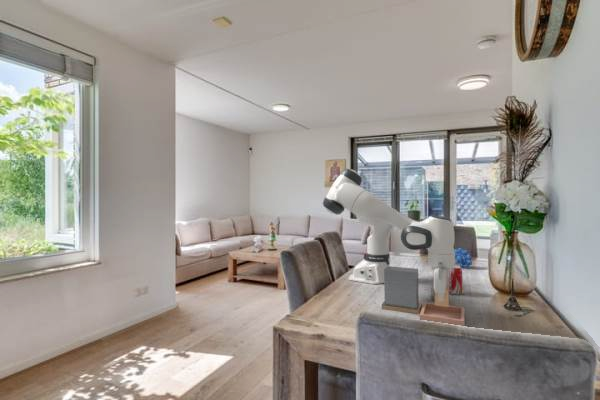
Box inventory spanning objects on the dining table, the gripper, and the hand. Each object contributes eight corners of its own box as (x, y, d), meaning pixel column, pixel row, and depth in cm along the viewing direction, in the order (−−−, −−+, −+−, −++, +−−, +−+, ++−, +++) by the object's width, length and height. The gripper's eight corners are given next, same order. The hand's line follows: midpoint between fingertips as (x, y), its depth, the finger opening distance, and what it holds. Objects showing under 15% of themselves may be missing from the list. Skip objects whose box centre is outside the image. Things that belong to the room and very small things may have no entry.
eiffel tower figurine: (519, 319, 112) (518, 282, 111) (489, 310, 120) (489, 276, 120) (538, 310, 119) (538, 275, 119) (509, 303, 128) (509, 270, 128)
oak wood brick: (434, 305, 112) (434, 285, 112) (435, 301, 116) (435, 282, 116) (448, 307, 110) (448, 287, 110) (449, 303, 114) (448, 284, 114)
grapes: (449, 267, 190) (448, 247, 190) (456, 265, 193) (455, 246, 193) (467, 270, 180) (467, 250, 180) (474, 269, 183) (474, 248, 183)
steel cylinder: (430, 301, 130) (430, 289, 130) (431, 298, 135) (431, 286, 135) (443, 303, 128) (443, 291, 128) (444, 299, 132) (444, 287, 132)
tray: (419, 321, 110) (419, 314, 110) (424, 308, 122) (424, 302, 122) (464, 328, 104) (464, 321, 103) (464, 314, 116) (464, 307, 116)
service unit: (381, 308, 123) (380, 269, 123) (387, 300, 132) (386, 264, 132) (419, 314, 117) (418, 273, 116) (422, 305, 126) (421, 267, 125)
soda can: (441, 291, 143) (441, 265, 143) (453, 289, 145) (452, 264, 145) (455, 296, 136) (454, 268, 136) (466, 293, 139) (466, 267, 139)
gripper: (449, 267, 102) (450, 309, 102) (451, 256, 120) (452, 291, 120) (429, 265, 105) (429, 306, 105) (434, 254, 123) (434, 289, 123)
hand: (441, 298), depth 113 cm, fingers closed on oak wood brick, 4 cm apart
